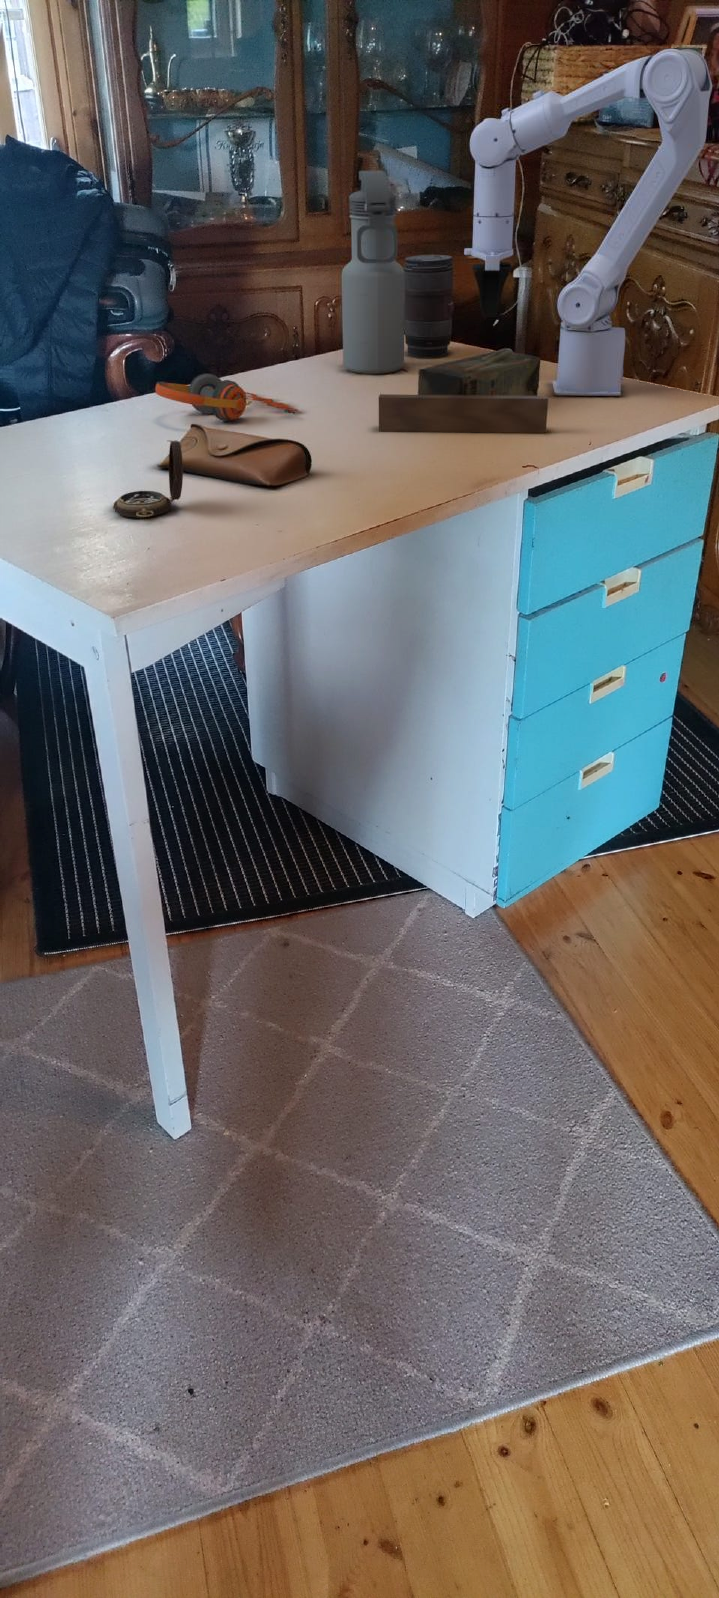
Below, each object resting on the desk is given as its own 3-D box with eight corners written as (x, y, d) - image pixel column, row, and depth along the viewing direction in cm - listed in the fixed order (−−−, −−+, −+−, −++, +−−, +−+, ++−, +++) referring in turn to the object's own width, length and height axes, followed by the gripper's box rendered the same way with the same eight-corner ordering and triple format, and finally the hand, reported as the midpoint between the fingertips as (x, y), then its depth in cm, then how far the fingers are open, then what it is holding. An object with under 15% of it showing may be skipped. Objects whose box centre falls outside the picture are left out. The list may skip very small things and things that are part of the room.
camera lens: (427, 347, 205) (428, 252, 197) (461, 353, 200) (464, 256, 192) (393, 354, 200) (393, 257, 193) (427, 361, 195) (428, 261, 187)
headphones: (249, 411, 178) (130, 400, 165) (254, 374, 176) (133, 360, 163) (314, 434, 166) (191, 424, 154) (321, 395, 164) (196, 381, 152)
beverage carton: (541, 399, 172) (544, 351, 168) (459, 425, 159) (460, 374, 156) (496, 391, 176) (498, 344, 173) (413, 416, 164) (414, 366, 161)
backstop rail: (545, 430, 157) (547, 395, 155) (545, 433, 156) (548, 398, 153) (379, 428, 159) (379, 394, 157) (378, 431, 158) (378, 397, 155)
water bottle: (409, 374, 187) (411, 173, 172) (347, 376, 186) (344, 175, 171) (398, 361, 195) (399, 169, 181) (339, 363, 194) (335, 170, 180)
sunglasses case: (150, 465, 143) (163, 410, 143) (184, 482, 149) (197, 429, 149) (273, 487, 135) (287, 429, 135) (303, 503, 141) (317, 448, 141)
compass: (112, 504, 132) (104, 438, 128) (183, 498, 134) (177, 433, 130) (116, 527, 125) (107, 457, 122) (191, 520, 127) (185, 452, 123)
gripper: (465, 210, 176) (463, 308, 183) (465, 220, 164) (462, 325, 171) (513, 210, 176) (508, 308, 183) (516, 220, 163) (511, 325, 170)
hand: (489, 316), depth 177 cm, fingers closed
